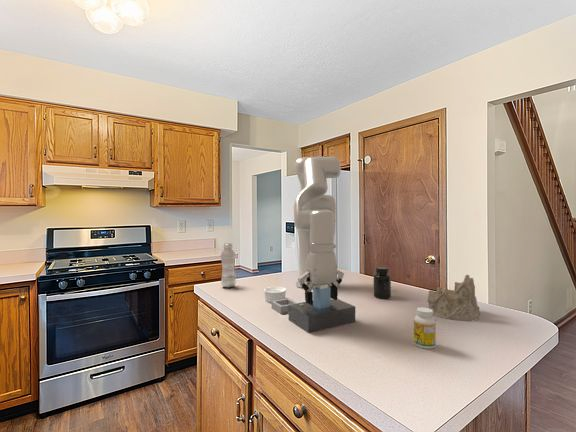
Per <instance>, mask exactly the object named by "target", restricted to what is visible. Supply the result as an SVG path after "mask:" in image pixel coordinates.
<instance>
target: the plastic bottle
mask: <svg viewBox="0 0 576 432" xmlns="http://www.w3.org/2000/svg"><path fill="white" fill-rule="evenodd" d="M223 248H224V249H223V251H222V252H221V254H220V259H221V267H222V268H221V269H222V270H221V278H220V279H221V281H220V282H221V286H222V287H223V288H233V287H235V286H236V284H237V280H236V274H235V273H236V272H235V262H236V254H235V251H234V250H233V243H231V242H230V243H224V244H223Z"/></svg>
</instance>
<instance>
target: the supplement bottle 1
mask: <svg viewBox="0 0 576 432" xmlns="http://www.w3.org/2000/svg"><path fill="white" fill-rule="evenodd" d="M391 279H392V277H391V275H390V274H389V268H388V267H385V266H378V267H375V274H374V275H373V297H374V298H376V299H379V300H380V299H381V300H387V299H388V300H389V299H391V297H392V280H391Z"/></svg>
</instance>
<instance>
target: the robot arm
mask: <svg viewBox="0 0 576 432" xmlns="http://www.w3.org/2000/svg"><path fill="white" fill-rule="evenodd" d="M294 165H295V172H296V175H297V178H298V181H299V184H300V192H299V193H298V195H297V196H296V198H295V199H294V204H293V221H294V226H295V229H296V230H297V234H298V247H299V249H298V251H299V252H298V253H299V255H298V257H299V263H298V264H299V265H298V266H299V267H298V268H299V269H298V270H299V272H298V275H299V276H298V278H297V281H296V282H295V286H296V287H298V288H301V289H303V290H304V300H305V301H304V302H306V303H308V304H310V305H311V304H313V287H315V285H322V284H328V285H329V284H330V286H329V288H330V298H332V299H334V300H337V299H338V296H339V295H338V294H339V292H338V291H339V290H338V288H340V285H341V283H342V282H343V278H344V276H345V273H344V272H343V271H341V270H338V267H337V266H338V265H337V257H336V253H335V252H334V249H336V247H337V245H336V244H335V242H334V240H335V239H334V236H335V233H336V221H337V220H336V219H337V217H336V215H337V213H336V209H337V208H336V199H335V198H334V196H333V195H331V194H326V193H327V192H328V189H329V188H328V182H327V180H328V179H337V178H339V176H340V175H341V171H342V170H341V169H342V167H341V162H340V159H338V157H337V156H303V157H299V158H297V159H296V161H295V164H294Z"/></svg>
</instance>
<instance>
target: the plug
mask: <svg viewBox="0 0 576 432" xmlns="http://www.w3.org/2000/svg"><path fill="white" fill-rule="evenodd" d="M312 292H313V306H314V307H316V308H318V309H325V308H330V286H329V284H322V285H315V287H313V289H312Z"/></svg>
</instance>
